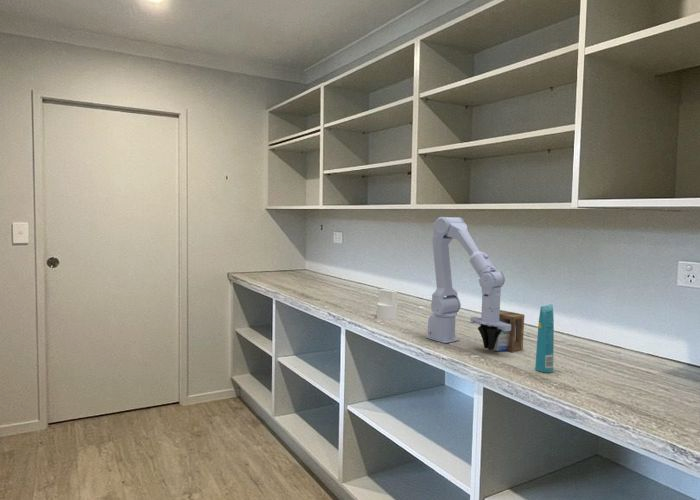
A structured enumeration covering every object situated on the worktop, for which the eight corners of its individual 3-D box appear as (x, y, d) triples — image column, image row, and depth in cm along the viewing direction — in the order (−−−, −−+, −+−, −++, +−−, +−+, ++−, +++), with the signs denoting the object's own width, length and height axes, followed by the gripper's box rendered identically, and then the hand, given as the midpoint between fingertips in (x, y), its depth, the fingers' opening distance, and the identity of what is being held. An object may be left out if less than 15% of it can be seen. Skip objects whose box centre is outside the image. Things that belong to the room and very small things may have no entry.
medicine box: (497, 351, 161) (498, 325, 161) (488, 348, 165) (489, 323, 165) (515, 349, 164) (516, 323, 164) (506, 346, 168) (507, 321, 168)
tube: (540, 365, 147) (543, 302, 146) (556, 369, 144) (560, 304, 143) (530, 371, 141) (534, 305, 140) (547, 375, 138) (551, 308, 137)
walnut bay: (487, 346, 168) (489, 311, 168) (498, 343, 172) (500, 309, 172) (511, 352, 161) (513, 316, 160) (522, 349, 165) (524, 314, 164)
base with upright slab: (401, 318, 212) (402, 290, 211) (386, 320, 206) (387, 292, 206) (387, 314, 219) (388, 288, 218) (372, 317, 213) (373, 289, 212)
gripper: (465, 305, 163) (463, 345, 164) (502, 312, 152) (500, 355, 153) (478, 303, 167) (476, 342, 168) (515, 310, 156) (513, 352, 157)
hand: (489, 348), depth 161 cm, fingers closed
